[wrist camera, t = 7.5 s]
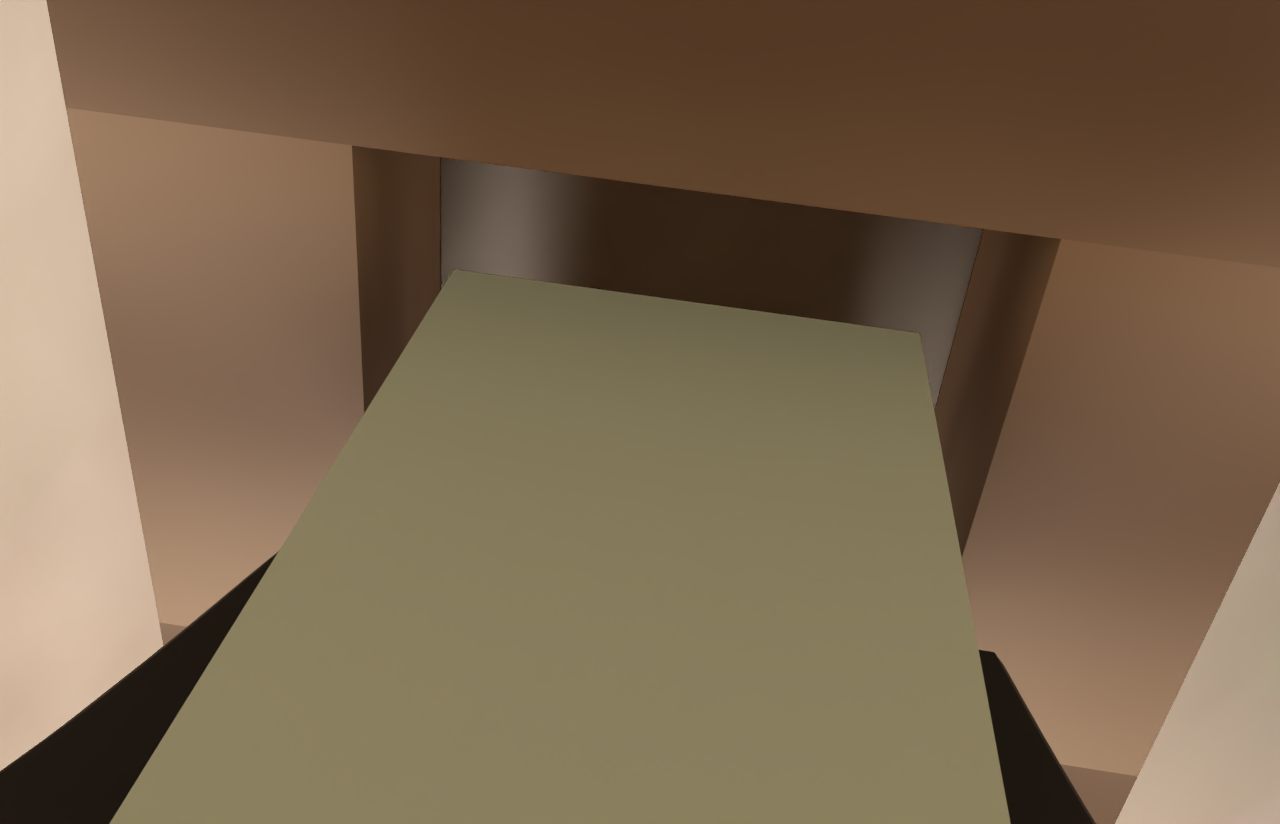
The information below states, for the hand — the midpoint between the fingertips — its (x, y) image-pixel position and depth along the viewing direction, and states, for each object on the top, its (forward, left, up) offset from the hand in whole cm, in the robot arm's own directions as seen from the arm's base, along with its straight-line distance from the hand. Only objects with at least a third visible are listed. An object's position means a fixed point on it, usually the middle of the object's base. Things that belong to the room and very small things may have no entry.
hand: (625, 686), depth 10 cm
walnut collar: (0, 0, -6) cm, 6 cm away
